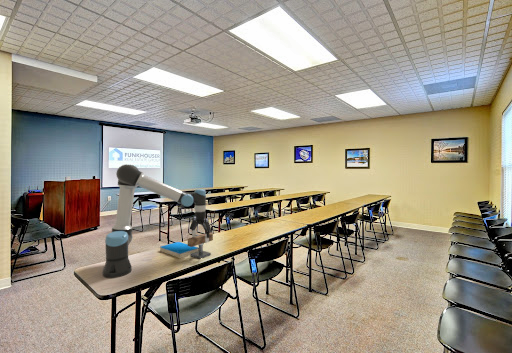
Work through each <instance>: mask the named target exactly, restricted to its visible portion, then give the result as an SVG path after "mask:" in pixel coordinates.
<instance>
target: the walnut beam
mask: <svg viewBox="0 0 512 353" xmlns="http://www.w3.org/2000/svg"><path fill="white" fill-rule="evenodd" d="M212 241H214V234H213V233H212V232H211V233H209V242H212ZM187 244H188V246H190V247H193V246H195V247H197V246H199V244H203V245H204V244H206V243H205V233H204V234H200V235H196V237H192V236H191V237H189V238H187Z"/></svg>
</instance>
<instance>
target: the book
mask: <svg viewBox="0 0 512 353" xmlns="http://www.w3.org/2000/svg"><path fill="white" fill-rule="evenodd" d="M159 248H160V252H162V253H165V254H167V255H171V256H173V257H176V258H178V259H181V258H184V257H188V256H191V254H192V253H195V252H198V251H199V246H193V247H190V246H188V243H185V242H180V241H176V242H172V243H168V244H165V245H161V246H160V247H159Z"/></svg>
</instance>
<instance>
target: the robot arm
mask: <svg viewBox="0 0 512 353" xmlns="http://www.w3.org/2000/svg"><path fill="white" fill-rule="evenodd" d="M115 173H116V179H117V186H118V187H119V193H118V200H117V208H116V215H115V224H114V225H113V226H112V227H111V232H109V233H108V234H107V235H106V236H105V239H104V240H105V242H104V243H105V263H104V266H103V269H102V276H103V277H104V278H107V279H108V278H118V277H123V276H126V275H128V274H130V273H131V272H132V270H133V268H132V267H133V266H132V264H131V262H130V259H129V245H130V244H131V242H132V240H133V226H132V225H131V223H132V213H133V206H134V196H135V190H136V188H137V187H140V188H142V189H144V190H146V191H148V192H149V191H150V192H151V193H154V194H156V195H159V196H162V197H164V198H167V199H169V200H170V201H174V202H177V204H180V205H182V206H184V207H190V206H192V205H193V204H194V216H193V217H192V221H191V223H190V226H189V229H190V230H191V238H192V237H196V236H197V230H196V228H197V227H198V225H201V227H203V228H202V229H204V232H205V233H204V234H205V243H204V244H207V243H209V242H210V241H209V233H212V232H213V230H212V228H211V226H210V225H211V224H210V222H209V218H205V217H206V216H207V213H206V209H207V208H206V207H207V206H206V205H207V202H206V200H207V197H206V194H207V193H206V192H207V191H206V189H202V188H200V189H199V188H197V189H195V190H194V192H193V191H192V192H185V191H183V190H182V191H181V190H180V189H178V188H175V187H174V186H170V185H169V184H166V183H164V182H162V181H159V180H157V179H154V178H152V177H149V176H147V175H145V174H144V172H142V171H141V170H139V168H138V167H137V166H136V165H133V164H122V165H121V166H119V167H118V168H117V169H116V172H115Z"/></svg>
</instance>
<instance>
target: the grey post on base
mask: <svg viewBox="0 0 512 353" xmlns="http://www.w3.org/2000/svg"><path fill="white" fill-rule="evenodd" d="M203 245H204V243H203V244H199V245H198V248H199V251H198V252H195V253H192V254H191V255H190V257H192V258H196V259H199V260H202V259H205V258H206V257H209V256H212V254H211V252H209V251H205V250H204V249H203V248H204V246H203ZM201 258H202V259H201Z"/></svg>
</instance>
